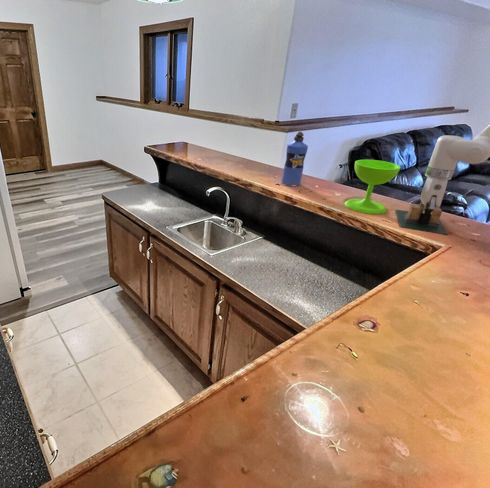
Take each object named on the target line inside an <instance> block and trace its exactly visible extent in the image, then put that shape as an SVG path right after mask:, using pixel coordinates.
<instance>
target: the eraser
mask: <svg viewBox="0 0 490 488" xmlns="http://www.w3.org/2000/svg"><path fill="white" fill-rule="evenodd" d="M423 208H424V205H420V204H418V203H410V205H409V207H408V210H407V211H408V214H405V217H404V219H405V222H406V223H412V224H418V219H419V217H420V214H421V213H422V211H423ZM427 208H428V207H426V209H427ZM442 213H443V210H442V209H441V207H438V208H437V207H436V206H434V209H433V212H432V215H431V218H430V221H429V223H428V225H424V224H418V225H424V226H431V227H437V228H438V227H439V222H438V221H439V219H440V218H441V216H442Z"/></svg>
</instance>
